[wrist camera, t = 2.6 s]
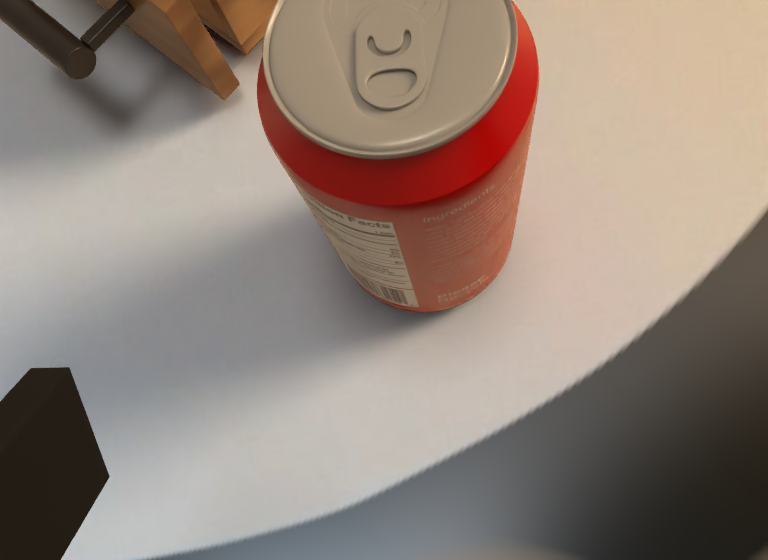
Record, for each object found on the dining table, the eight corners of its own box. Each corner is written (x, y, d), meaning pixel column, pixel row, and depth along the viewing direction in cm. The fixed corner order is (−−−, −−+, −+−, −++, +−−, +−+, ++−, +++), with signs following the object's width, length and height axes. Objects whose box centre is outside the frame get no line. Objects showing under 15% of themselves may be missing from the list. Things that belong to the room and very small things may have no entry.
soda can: (346, 324, 30) (232, 196, 16) (340, 167, 32) (236, -70, 18) (520, 310, 29) (566, 162, 15) (502, 150, 31) (527, -113, 17)
